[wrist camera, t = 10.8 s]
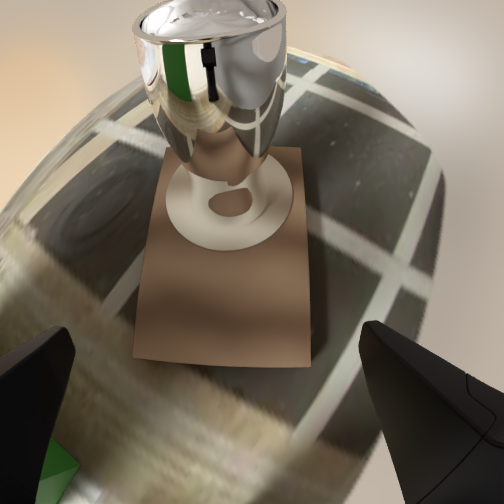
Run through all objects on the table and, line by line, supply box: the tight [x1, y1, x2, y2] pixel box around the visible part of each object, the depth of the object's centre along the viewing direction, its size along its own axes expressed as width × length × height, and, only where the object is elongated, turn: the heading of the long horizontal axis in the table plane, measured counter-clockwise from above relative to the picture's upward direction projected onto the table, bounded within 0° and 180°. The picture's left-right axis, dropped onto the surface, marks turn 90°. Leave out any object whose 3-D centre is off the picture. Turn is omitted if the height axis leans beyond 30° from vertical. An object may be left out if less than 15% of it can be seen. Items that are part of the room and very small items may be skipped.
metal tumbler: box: [132, 0, 287, 228], centre depth 16 cm, size 7×7×15 cm
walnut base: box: [132, 146, 311, 368], centre depth 23 cm, size 18×12×2 cm, turn 179°
